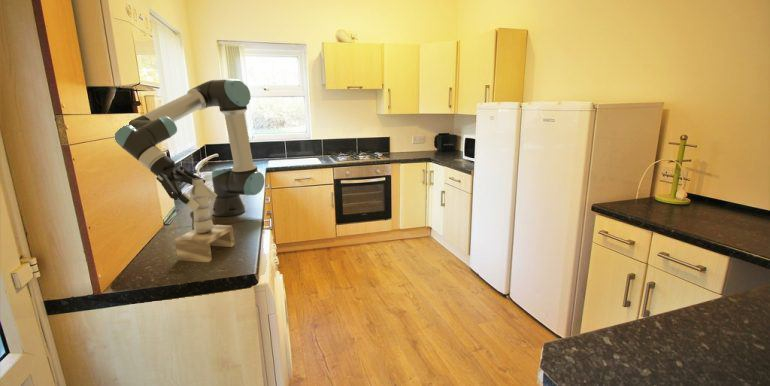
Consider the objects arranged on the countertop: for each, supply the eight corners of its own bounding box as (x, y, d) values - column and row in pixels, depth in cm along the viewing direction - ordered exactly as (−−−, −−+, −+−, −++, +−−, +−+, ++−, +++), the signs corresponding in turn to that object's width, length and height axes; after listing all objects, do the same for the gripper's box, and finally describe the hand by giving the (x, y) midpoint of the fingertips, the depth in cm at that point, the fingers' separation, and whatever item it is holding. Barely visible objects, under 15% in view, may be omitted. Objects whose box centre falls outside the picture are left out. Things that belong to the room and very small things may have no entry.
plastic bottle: (193, 236, 128) (186, 181, 123) (195, 230, 134) (188, 178, 130) (213, 233, 131) (207, 180, 126) (214, 228, 137) (207, 176, 132)
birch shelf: (207, 243, 143) (204, 224, 141) (234, 244, 141) (232, 225, 139) (178, 260, 128) (174, 239, 126) (208, 262, 126) (205, 241, 124)
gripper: (172, 164, 139) (215, 200, 143) (127, 177, 115) (181, 220, 119) (183, 150, 138) (227, 187, 141) (140, 160, 114) (195, 205, 117)
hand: (206, 203), depth 130 cm, fingers open, 13 cm apart
